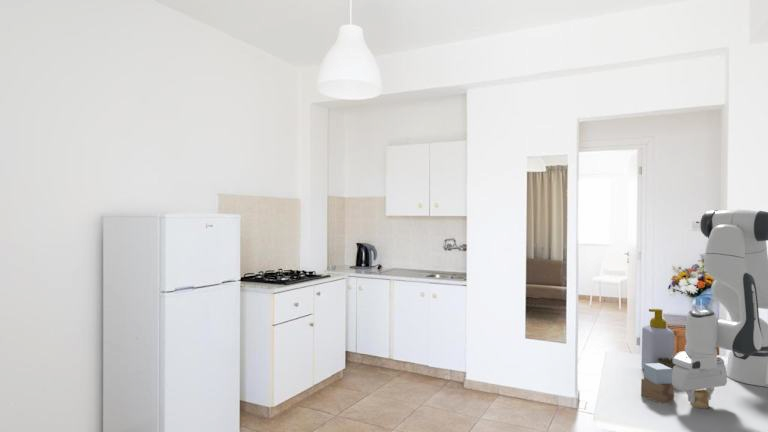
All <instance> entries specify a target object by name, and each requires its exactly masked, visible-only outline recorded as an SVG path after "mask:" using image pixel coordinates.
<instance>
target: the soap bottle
mask: <svg viewBox="0 0 768 432" xmlns="http://www.w3.org/2000/svg"><path fill="white" fill-rule="evenodd" d="M648 312H650V313H654V317H652V318H651V319H650V320H649V325H645V326H642V328H641V369H642V370H644V364H648V363H659V361H658V359H659V358H660V359H661V358H663V359H664V357H665V358H666V359H667V358H669V359H670V360H671V358H672V359H673V358H674V357H675V332H674V331H673V330H672V329H670V328H668V327H667V321H666V320H665V319H663V309H661V308H648Z"/></svg>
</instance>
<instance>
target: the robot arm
mask: <svg viewBox="0 0 768 432" xmlns="http://www.w3.org/2000/svg"><path fill="white" fill-rule="evenodd" d="M699 225H700V231H701V233H702V235H704V237H706V238H708V239H707V243H706V246H705V247H706V248H705V252H704V260H703V261H704V262H703V265H704V266H703V267H704V270H705V272H706V273H707V275H709V277H710V278H712V279H713V282H712V283H711V288H710V290H711V294H712V296H713V298H714V299H715V300H716V301H718V302H719V303H720V304H721V305H722V306H723V307H724V308H725V310H726V311H727V313H728V314H729V318H730V319H731V320H730V319H725V318H724V319H723V318H721V317H720V318H719V317H718V316H717V315H716V313H715V312H714V311H713V310H710V309H706V308H695V309H691V310H689V311H688V313H687V317H686V321H685V329H684V336H685V341H686V342H685V345H684V350H683V351H682V352H681V353H679V354H677V355H676V356H674V358H673V364H676V365H675V366H674V367H673V370H672V385H673V387H674V389H676V390H678V391H681V392H685V393H686V395H687V400H688V402H692V403H693V402H696V398H697V397H695V396H694V394H693V393H694V391H695V390H696V389H704V390H707V391H708V392H709V401H711V399H712V394H713V392H714V391H715V388H716V387H723V386H726V385H727V383H728V378H729V379H731V380H734V381H736V382H739V383H743V384H748V385H753V386H759V387H767V388H768V322H766V321H765V320H764V319H763V318H761V317H760V313H759V309H761V310H762V309H764V310H768V247H767V242H768V211H763V210H759V211H758V210H757V211H756V210H751V209H724V210H722V209H721V210H718V209H715V210H708V211H706V212H705V213H703V215H702V216H701V219H700V224H699ZM717 348H719V349H723V350H728V351H729V352H728V357H727V364H726V365H725V361H724V359H723V358H722V357H720V356H718V351H717Z"/></svg>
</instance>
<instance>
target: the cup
mask: <svg viewBox="0 0 768 432" xmlns="http://www.w3.org/2000/svg"><path fill="white" fill-rule="evenodd" d="M658 361H659V363H660V364H663V365H665V366H667V367H670V368H672V370H673V367H674V366H675V365H676V364H673V359H672V358H671V360H670V359H669V358H667V359H666V358H665V357H664V359H663V358H661V359H660V358H659V359H658Z"/></svg>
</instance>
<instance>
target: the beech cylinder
mask: <svg viewBox="0 0 768 432" xmlns="http://www.w3.org/2000/svg"><path fill="white" fill-rule="evenodd" d="M693 394H694V396H695V397H697V398H696V402H693V403H692V402H690V405H691V406H692V407H694V408H697V409H700V410H708V409H709V407H710V403H709V401H710V400H709V392H708V391H707V390H706V389H705V388H704V389H696V390H695V391H694V393H693Z"/></svg>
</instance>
